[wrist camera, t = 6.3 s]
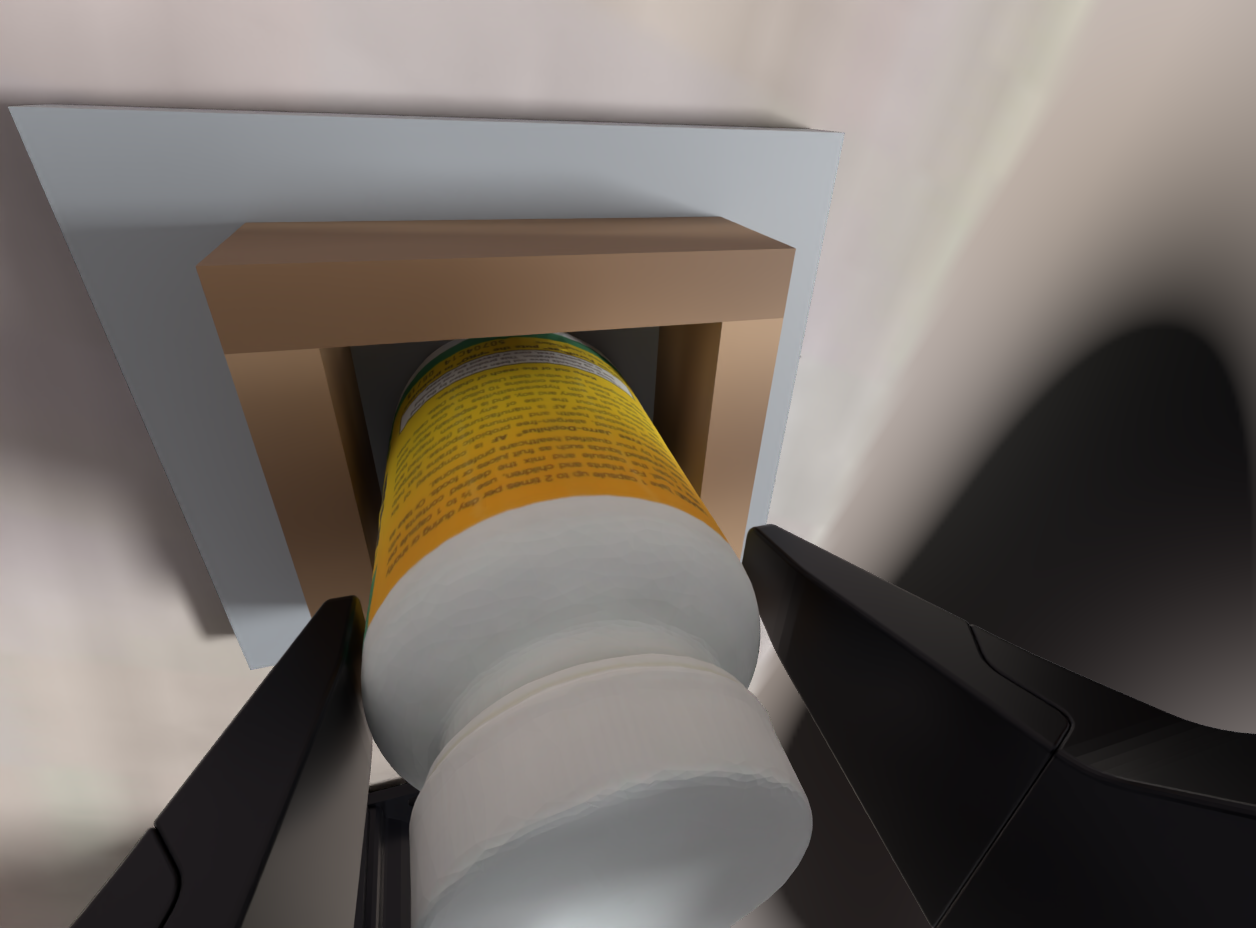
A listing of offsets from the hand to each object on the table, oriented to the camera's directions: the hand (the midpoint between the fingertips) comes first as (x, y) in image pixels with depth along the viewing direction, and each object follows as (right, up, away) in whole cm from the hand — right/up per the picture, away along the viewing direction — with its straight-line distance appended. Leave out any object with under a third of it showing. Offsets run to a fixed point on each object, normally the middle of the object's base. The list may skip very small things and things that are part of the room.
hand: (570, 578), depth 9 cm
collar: (-2, +3, +4) cm, 5 cm away
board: (-2, +3, +5) cm, 6 cm away
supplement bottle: (-2, +3, +4) cm, 5 cm away
